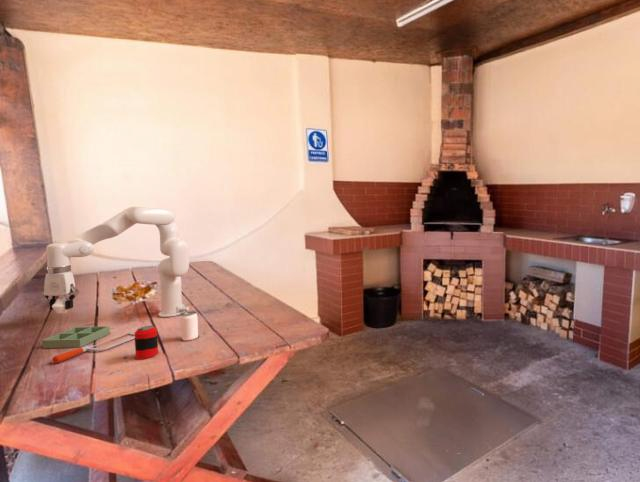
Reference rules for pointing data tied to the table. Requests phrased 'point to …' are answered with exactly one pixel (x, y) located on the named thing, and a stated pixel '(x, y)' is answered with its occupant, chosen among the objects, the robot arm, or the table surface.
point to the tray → (75, 337)
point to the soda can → (146, 342)
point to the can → (189, 326)
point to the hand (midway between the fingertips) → (61, 308)
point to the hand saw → (86, 348)
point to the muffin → (60, 306)
